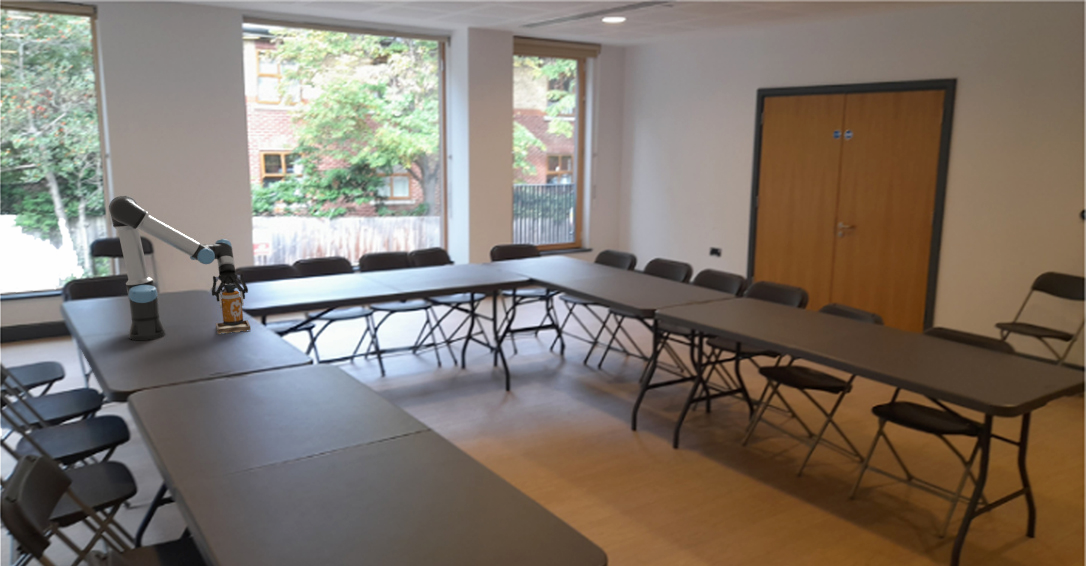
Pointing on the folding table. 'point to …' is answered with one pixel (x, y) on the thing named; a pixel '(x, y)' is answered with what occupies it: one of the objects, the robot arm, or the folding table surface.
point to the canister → (231, 305)
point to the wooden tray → (232, 327)
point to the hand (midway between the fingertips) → (231, 305)
